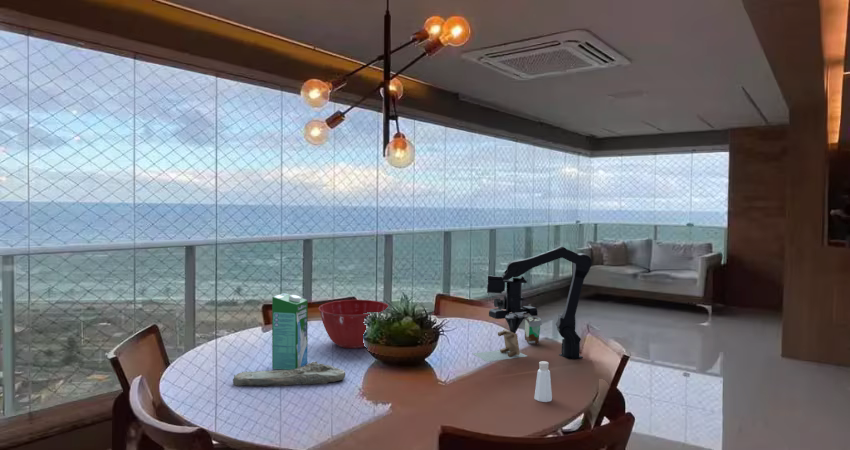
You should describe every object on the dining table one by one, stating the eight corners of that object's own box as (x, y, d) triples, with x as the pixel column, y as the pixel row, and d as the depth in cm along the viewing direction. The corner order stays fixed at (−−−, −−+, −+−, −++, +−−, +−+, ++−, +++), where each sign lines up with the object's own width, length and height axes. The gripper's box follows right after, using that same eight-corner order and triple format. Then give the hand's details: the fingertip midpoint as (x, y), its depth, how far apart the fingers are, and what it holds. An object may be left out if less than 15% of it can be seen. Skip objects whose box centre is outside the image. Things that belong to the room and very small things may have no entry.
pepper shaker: (539, 394, 162) (539, 358, 162) (555, 398, 159) (556, 361, 158) (530, 399, 158) (531, 362, 158) (547, 403, 155) (548, 366, 154)
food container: (544, 346, 216) (544, 321, 216) (529, 346, 217) (529, 321, 216) (538, 338, 229) (539, 315, 228) (524, 338, 229) (524, 315, 228)
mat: (528, 357, 201) (528, 356, 201) (486, 362, 193) (486, 361, 193) (511, 349, 211) (511, 348, 211) (471, 354, 203) (471, 353, 203)
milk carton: (296, 370, 182) (296, 297, 180) (272, 368, 183) (272, 296, 182) (307, 362, 190) (307, 293, 189) (284, 361, 192) (284, 292, 191)
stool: (519, 354, 201) (516, 333, 200) (511, 357, 199) (508, 336, 198) (508, 348, 208) (505, 329, 207) (499, 351, 206) (496, 332, 205)
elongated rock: (237, 382, 174) (230, 395, 164) (235, 367, 173) (229, 378, 163) (345, 373, 179) (345, 384, 169) (344, 357, 178) (344, 368, 169)
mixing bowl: (384, 355, 201) (384, 314, 201) (309, 352, 203) (309, 312, 202) (393, 336, 229) (393, 300, 229) (327, 334, 231) (328, 299, 231)
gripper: (522, 289, 214) (521, 327, 215) (481, 292, 206) (481, 332, 207) (539, 293, 204) (538, 334, 205) (497, 296, 196) (496, 338, 197)
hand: (513, 334), depth 204 cm, fingers closed
